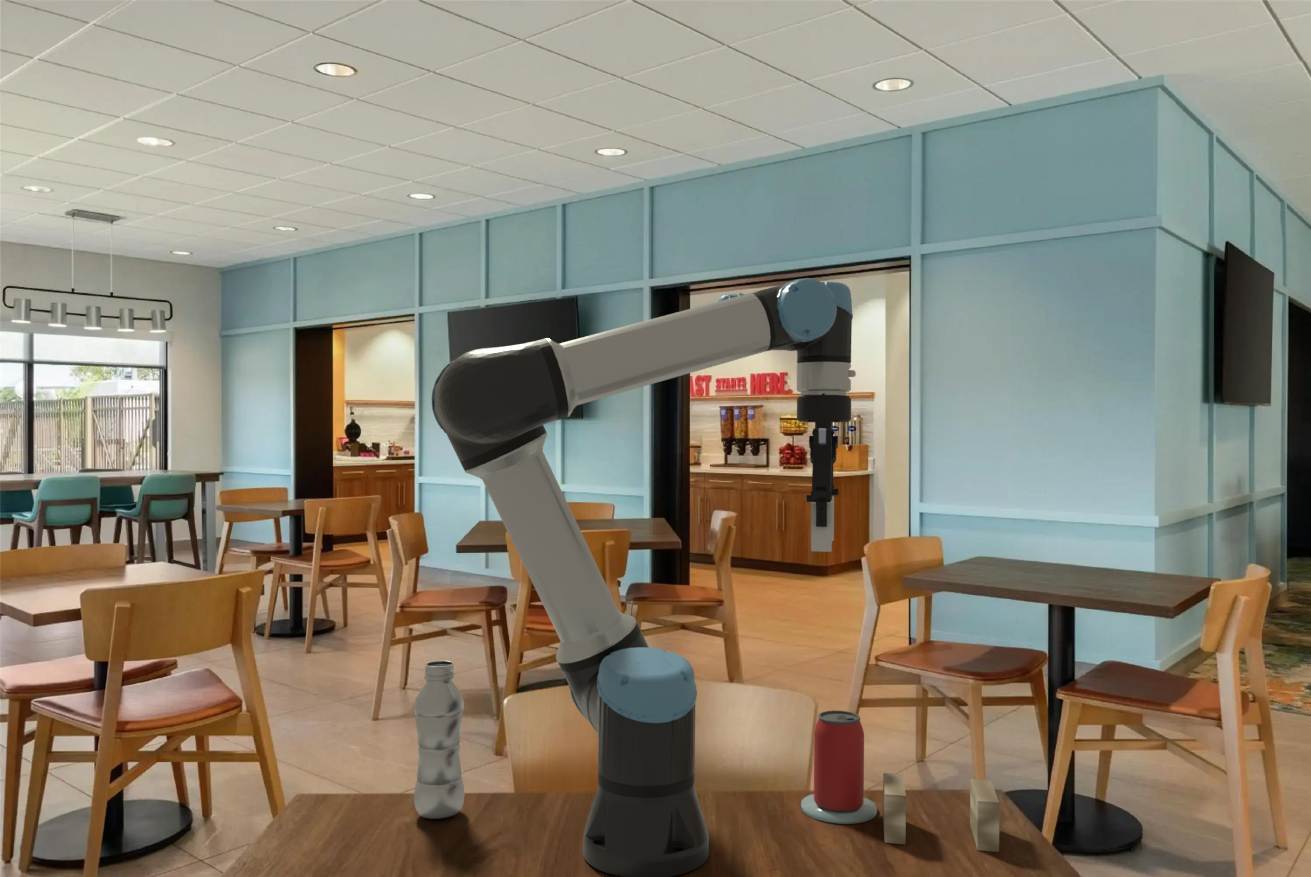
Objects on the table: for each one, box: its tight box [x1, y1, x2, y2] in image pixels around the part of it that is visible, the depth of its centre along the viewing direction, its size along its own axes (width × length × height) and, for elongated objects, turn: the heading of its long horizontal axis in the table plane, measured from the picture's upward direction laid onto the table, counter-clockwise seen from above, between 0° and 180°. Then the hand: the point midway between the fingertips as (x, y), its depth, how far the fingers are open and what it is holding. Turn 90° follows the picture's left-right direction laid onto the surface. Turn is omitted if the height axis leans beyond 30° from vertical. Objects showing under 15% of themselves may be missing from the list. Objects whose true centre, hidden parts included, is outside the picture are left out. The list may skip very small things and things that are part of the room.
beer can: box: [813, 709, 865, 812], centre depth 137 cm, size 7×7×12 cm
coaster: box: [800, 793, 878, 825], centre depth 137 cm, size 10×10×1 cm
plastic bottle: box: [413, 660, 466, 820], centre depth 134 cm, size 6×7×20 cm
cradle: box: [882, 772, 1000, 853], centre depth 128 cm, size 14×8×6 cm, turn 79°
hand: (822, 546), depth 143 cm, fingers open, 13 cm apart
